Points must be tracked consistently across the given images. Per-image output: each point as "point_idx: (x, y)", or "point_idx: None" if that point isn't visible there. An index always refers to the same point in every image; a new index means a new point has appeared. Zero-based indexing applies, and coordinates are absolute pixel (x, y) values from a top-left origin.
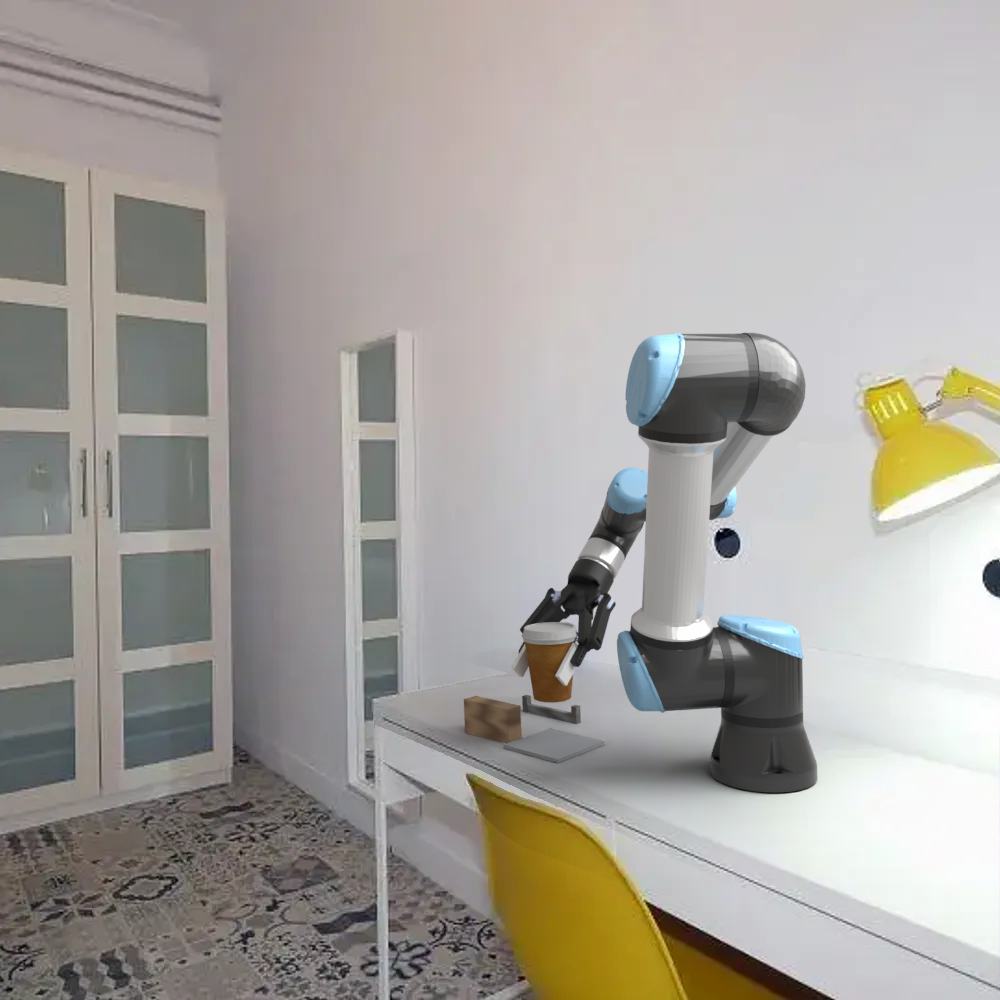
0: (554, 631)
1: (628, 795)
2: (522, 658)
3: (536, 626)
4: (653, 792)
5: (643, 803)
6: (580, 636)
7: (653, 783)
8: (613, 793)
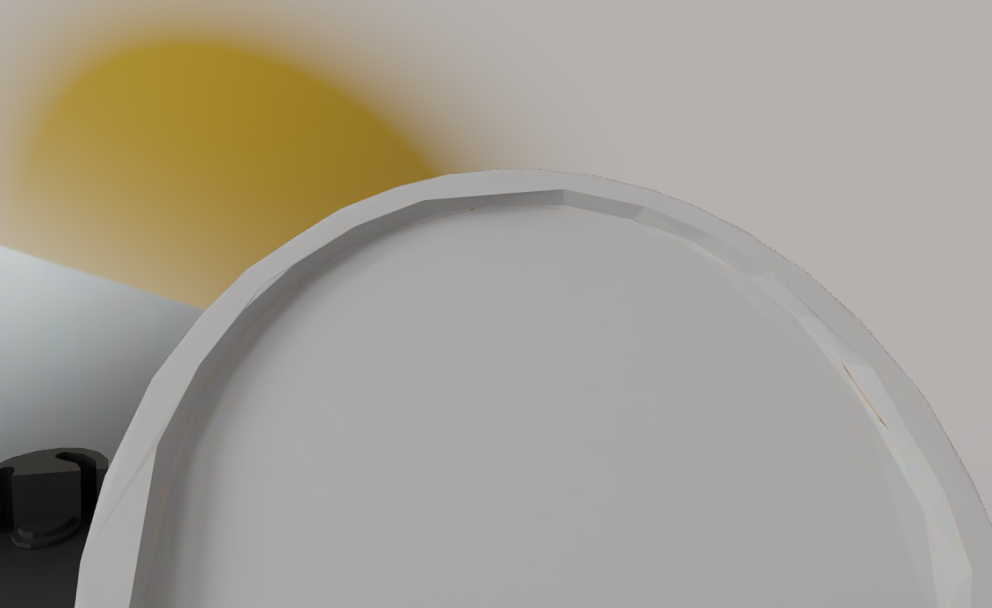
0: (316, 227)
1: (81, 308)
2: None
3: (898, 587)
4: (6, 355)
5: (33, 282)
6: (29, 586)
7: (8, 417)
8: (126, 303)
